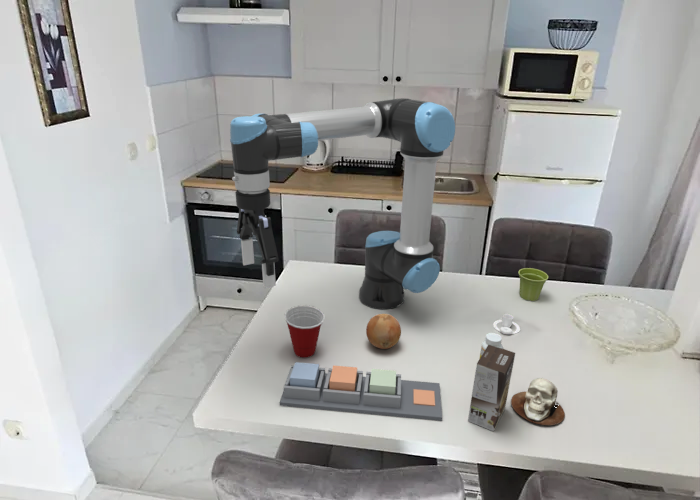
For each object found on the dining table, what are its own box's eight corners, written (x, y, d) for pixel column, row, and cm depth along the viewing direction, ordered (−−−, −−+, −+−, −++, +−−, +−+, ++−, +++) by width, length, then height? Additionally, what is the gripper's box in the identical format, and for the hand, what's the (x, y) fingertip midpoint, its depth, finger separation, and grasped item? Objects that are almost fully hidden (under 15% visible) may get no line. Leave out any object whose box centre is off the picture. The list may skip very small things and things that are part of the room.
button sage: (395, 380, 119) (396, 370, 118) (394, 397, 114) (395, 387, 112) (371, 378, 120) (371, 368, 118) (369, 394, 114) (369, 384, 113)
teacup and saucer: (509, 339, 142) (511, 327, 140) (486, 328, 147) (487, 316, 146) (525, 328, 147) (527, 317, 146) (502, 318, 153) (504, 306, 151)
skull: (560, 434, 106) (534, 394, 107) (521, 440, 114) (497, 402, 114) (576, 403, 115) (552, 366, 116) (539, 411, 122) (517, 376, 123)
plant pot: (527, 287, 171) (531, 265, 167) (549, 299, 163) (554, 276, 160) (508, 294, 166) (512, 271, 162) (531, 306, 159) (535, 283, 155)
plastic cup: (314, 368, 128) (314, 329, 123) (278, 358, 131) (276, 320, 127) (331, 345, 137) (331, 309, 132) (297, 337, 141) (295, 301, 136)
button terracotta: (357, 377, 120) (357, 367, 119) (354, 393, 115) (354, 383, 113) (333, 375, 121) (333, 365, 119) (329, 391, 115) (329, 381, 114)
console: (439, 386, 122) (440, 373, 120) (441, 420, 111) (443, 407, 109) (290, 373, 126) (290, 360, 124) (279, 405, 115) (278, 392, 113)
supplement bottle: (481, 373, 127) (485, 342, 123) (476, 360, 132) (480, 331, 128) (501, 373, 127) (507, 343, 123) (496, 361, 132) (501, 331, 128)
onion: (393, 333, 143) (395, 304, 139) (404, 353, 134) (407, 322, 130) (361, 337, 141) (362, 308, 137) (371, 358, 132) (372, 327, 128)
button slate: (319, 374, 121) (319, 364, 120) (314, 390, 116) (314, 379, 114) (295, 372, 122) (295, 362, 120) (290, 387, 116) (289, 377, 115)
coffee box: (494, 432, 108) (505, 374, 101) (466, 421, 111) (475, 363, 105) (506, 408, 115) (516, 352, 109) (479, 398, 118) (488, 343, 112)
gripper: (218, 177, 115) (226, 258, 124) (257, 208, 96) (263, 301, 105) (248, 173, 119) (254, 252, 128) (291, 202, 100) (295, 292, 108)
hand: (258, 274), depth 116 cm, fingers open, 13 cm apart
